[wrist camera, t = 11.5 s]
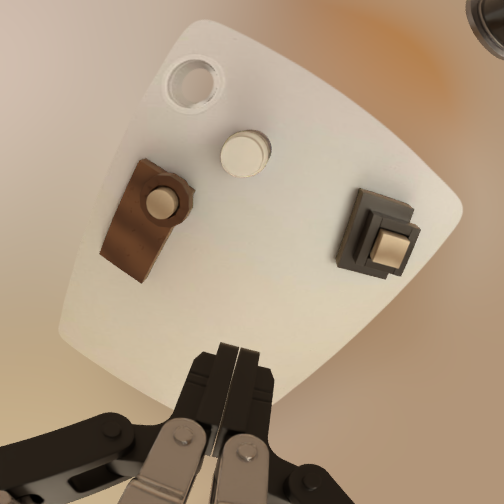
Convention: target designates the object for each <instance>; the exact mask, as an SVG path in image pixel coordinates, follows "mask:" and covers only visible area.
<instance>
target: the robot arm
mask: <svg viewBox="0 0 504 504" xmlns="http://www.w3.org/2000/svg"><path fill="white" fill-rule="evenodd" d="M477 11H478V16H479V20H480V22H481V25H482V27H483V29H484V30H485V32H486V33H487V35H488V36H489V38H490V39H491V40H492V41H493V42H494V43H495V44H496V45H497V46H498V47H500V48H501V49H503V50H504V0H479V2H478V7H477ZM238 350H239V347H237V346H233V345H229V344H225V343H222V342H220V345H219V348H218V351H217V354H216V355H214V354H210V353H206V352H202V353H201V354H200V355H199V356H198V357H196V358H195V359H194V361H193V363H192V366H191V368H190V371H189V373H188V376H187V379H186V381H185V384H184V386H183V389H182V391H181V394H180V396H179V399H178V401H177V404H176V407H175V409H174V412H173V414H172V415H171V417H170V418H169V419H168V420H166V421H165V422H163V423H161V424H158V425H135V424H131V422H130V421H129V420H128V419H127V418H126V417H124V416H122V415H120V414H118V413H112V412H108V413H103V414H100V415H97V416H95V417H92V418H89V419H87V420H84V421H81V422H78V423H76V424H73V425H70V426H67V427H64V428H61V429H58V430H55V431H52V432H49V433H46V434H43V435H39V436H36V437H33V438H30V439H27V440H23V441H20V442H16V443H13V444H9V445H6V446H1V447H0V504H67V503H70V502H73V501H75V500H78V499H81V498H84V497H87V496H89V495H92V494H94V493H97V492H100V491H102V490H104V489H107V488H109V487H112V486H114V485H116V484H119V483H121V482H123V481H126V480H128V479H130V478H132V477H135V478H133V479H132V480H131V481H130V482H129V483H128V485H127V487H126V489H125V490H124V492H123V494H122V496H121V498H120V500H119V502H118V504H186V502H187V499H188V497H189V494H190V492H191V489H192V487H193V484H194V481H195V479H196V476H197V474H198V473H199V471H200V469H201V466H202V463H203V459H204V456H205V455H208V456H210V455H211V452H212V449H213V445H214V442H215V439H216V436H217V439H216V443H215V447H214V451H213V455H212V456H213V457H216V458H218V460H217V464H216V468H215V471H214V474H213V478H212V484H211V491H210V498H209V504H355V503H353V501H352V500H351V499H350V498H349V497H348V496H347V494H346V493H345V492H344V491H343V490H342V489H341V487H340V486H339V485H338V484H337V483H336V482H335V480H334V479H333V478H332V477H331V476H330V475H329V473H328V472H327V471H326V470H325V469H324V468H322V467H320V466H318V465H314V464H304V465H301V466H296V465H294V464H291V463H289V462H287V461H285V460H283V459H281V458H279V457H278V456H277V455H276V454H275V453H274V452H273V451H272V450H271V448H270V446H269V444H268V430H269V423H270V414H271V406H272V397H273V388H274V378H273V375H272V373H271V370H270V369H269V368H265V367H260V366H258V361H259V355H260V352H257V351H253V350H249V349H245V348H241V349H240V352H239V356H238V359H237V362H236V358H237V354H238ZM235 362H236V366H235ZM234 366H235V369H234ZM233 370H234V373H233ZM232 374H233V376H232ZM231 378H232V380H231ZM230 382H231V384H230ZM229 386H230V388H229ZM228 390H229V392H228ZM227 394H228V396H227ZM226 398H227V400H226ZM225 402H226V404H225ZM224 406H225V408H224ZM223 410H224V412H223ZM222 414H223V416H222ZM221 418H222V419H221ZM220 422H221V423H220ZM219 426H220V427H219ZM218 429H219V431H218ZM217 433H218V435H217Z"/></svg>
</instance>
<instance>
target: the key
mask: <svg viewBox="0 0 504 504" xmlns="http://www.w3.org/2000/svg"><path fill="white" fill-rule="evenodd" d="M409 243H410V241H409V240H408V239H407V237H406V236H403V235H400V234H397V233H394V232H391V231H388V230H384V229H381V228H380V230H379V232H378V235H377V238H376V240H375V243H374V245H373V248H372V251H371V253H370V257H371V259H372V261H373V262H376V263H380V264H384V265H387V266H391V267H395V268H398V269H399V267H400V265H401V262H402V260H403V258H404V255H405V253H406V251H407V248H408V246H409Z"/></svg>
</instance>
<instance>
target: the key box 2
mask: <svg viewBox="0 0 504 504" xmlns="http://www.w3.org/2000/svg"><path fill="white" fill-rule="evenodd" d="M413 211H414V209H413V208H412V207H411V206H410V205H409V204H406V203H403V202H400V201H398V200H395V199H392V198H389V197H386V196H383V195H380V194H377V193H374V192H371V191H368V190H365V189H361V188H360V189H359V192H358V195H357V199H356V202H355V205H354V208H353V211H352V214H351V217H350V220H349V223H348V226H347V229H346V231H345V234H344V237H343V240H342V243H341V246H340V248H339V251H338V254H337V257H336V263H337V267H339V268H343V269H347V270H351V271H355V272H358V273H362V274H366V275H370V276H374V277H378V278H382V279H386V278H387V275H388V273H390V274H393V275H397V276H401V275H402V273H403V271H404V268H405V266H406V264H407V262H408V259H409V257H410V255H411V252H412V250H413V248H414V245H415V243H416V240H417V238H418V236H419V233H420V231H421V229H420V228H419V227H418V226H417V225H416V224H413V223H410V220H411V217H412V214H413ZM380 228H381V229H384V230H388V231H391V232H394V233H397V234H400V235H403V236H406V237H407V239H408V240H409V241H410V243H409V246H408V248H407V251H406V253H405V255H404V258H403V260H402V262H401V265H400V267H399V269H398V268H395V267H391V266H387V265H384V264H380V263H376V262H373V261H372V259H371V257H370V253H371V251H372V248H373V245H374V243H375V240H376V238H377V235H378V232H379V230H380Z"/></svg>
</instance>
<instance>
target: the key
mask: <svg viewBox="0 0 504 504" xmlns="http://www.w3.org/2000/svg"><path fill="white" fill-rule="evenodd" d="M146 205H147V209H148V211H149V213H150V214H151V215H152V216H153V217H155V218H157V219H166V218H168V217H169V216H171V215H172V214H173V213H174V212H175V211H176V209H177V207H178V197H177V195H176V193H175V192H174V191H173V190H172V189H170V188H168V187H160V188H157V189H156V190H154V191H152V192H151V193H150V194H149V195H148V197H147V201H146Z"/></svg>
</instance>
